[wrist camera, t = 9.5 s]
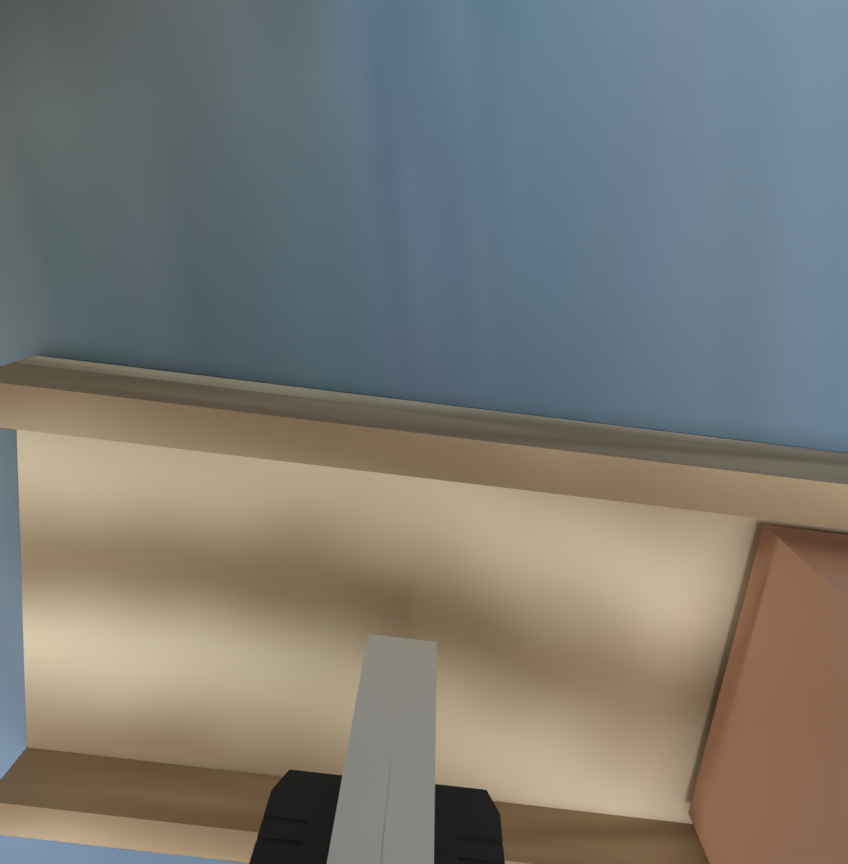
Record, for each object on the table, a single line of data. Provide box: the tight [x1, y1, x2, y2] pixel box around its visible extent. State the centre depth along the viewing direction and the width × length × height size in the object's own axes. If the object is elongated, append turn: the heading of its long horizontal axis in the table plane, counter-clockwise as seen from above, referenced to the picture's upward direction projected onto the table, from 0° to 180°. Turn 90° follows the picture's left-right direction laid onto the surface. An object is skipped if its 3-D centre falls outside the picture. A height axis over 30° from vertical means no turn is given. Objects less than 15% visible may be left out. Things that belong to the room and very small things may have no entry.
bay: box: [0, 356, 848, 864], centre depth 16 cm, size 12×30×8 cm, turn 83°
